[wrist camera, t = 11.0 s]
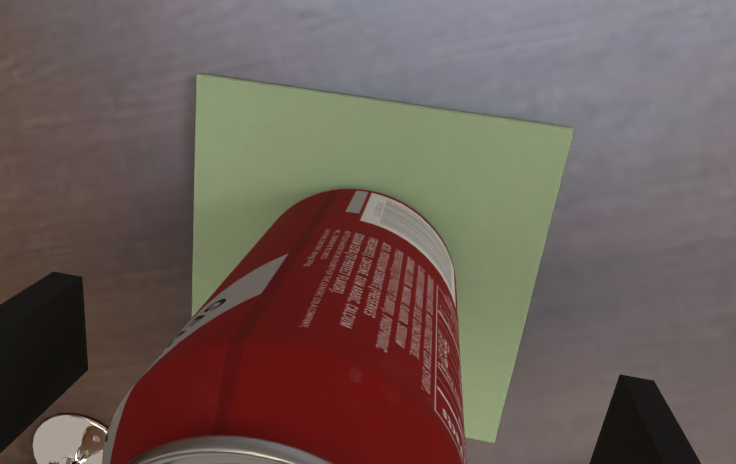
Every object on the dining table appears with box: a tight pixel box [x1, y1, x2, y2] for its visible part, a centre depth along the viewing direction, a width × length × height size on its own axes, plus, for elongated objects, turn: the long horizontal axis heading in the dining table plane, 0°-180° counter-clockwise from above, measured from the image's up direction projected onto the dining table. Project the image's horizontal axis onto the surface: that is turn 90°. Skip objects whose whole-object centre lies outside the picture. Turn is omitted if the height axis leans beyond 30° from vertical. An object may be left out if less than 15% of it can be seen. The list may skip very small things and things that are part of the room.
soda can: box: [102, 187, 466, 464], centre depth 14 cm, size 7×7×12 cm
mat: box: [192, 74, 574, 443], centre depth 20 cm, size 12×12×1 cm
